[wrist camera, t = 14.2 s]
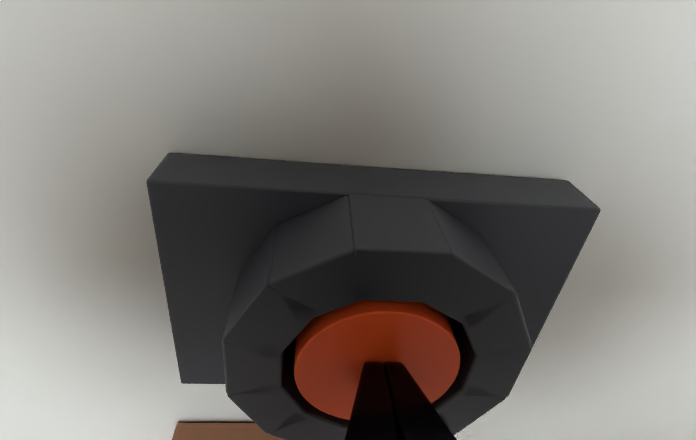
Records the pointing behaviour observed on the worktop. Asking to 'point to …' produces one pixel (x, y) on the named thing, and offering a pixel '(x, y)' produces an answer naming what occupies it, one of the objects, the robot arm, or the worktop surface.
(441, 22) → the worktop surface
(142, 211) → the worktop surface
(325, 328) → the button
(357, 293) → the control block
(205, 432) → the brown lever base bracket
